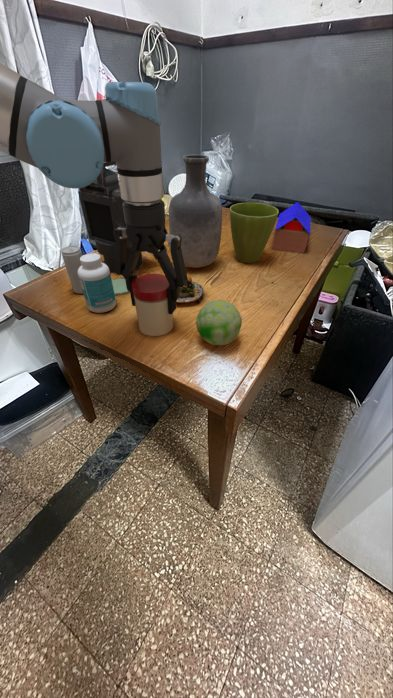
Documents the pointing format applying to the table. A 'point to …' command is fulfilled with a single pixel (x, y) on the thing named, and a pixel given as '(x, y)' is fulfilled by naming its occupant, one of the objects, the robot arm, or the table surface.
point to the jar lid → (150, 287)
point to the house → (292, 229)
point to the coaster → (119, 286)
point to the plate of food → (190, 292)
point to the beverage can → (73, 266)
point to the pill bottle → (96, 284)
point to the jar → (153, 317)
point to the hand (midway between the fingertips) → (154, 306)
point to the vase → (196, 215)
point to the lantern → (105, 215)
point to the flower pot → (251, 229)
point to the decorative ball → (218, 322)
